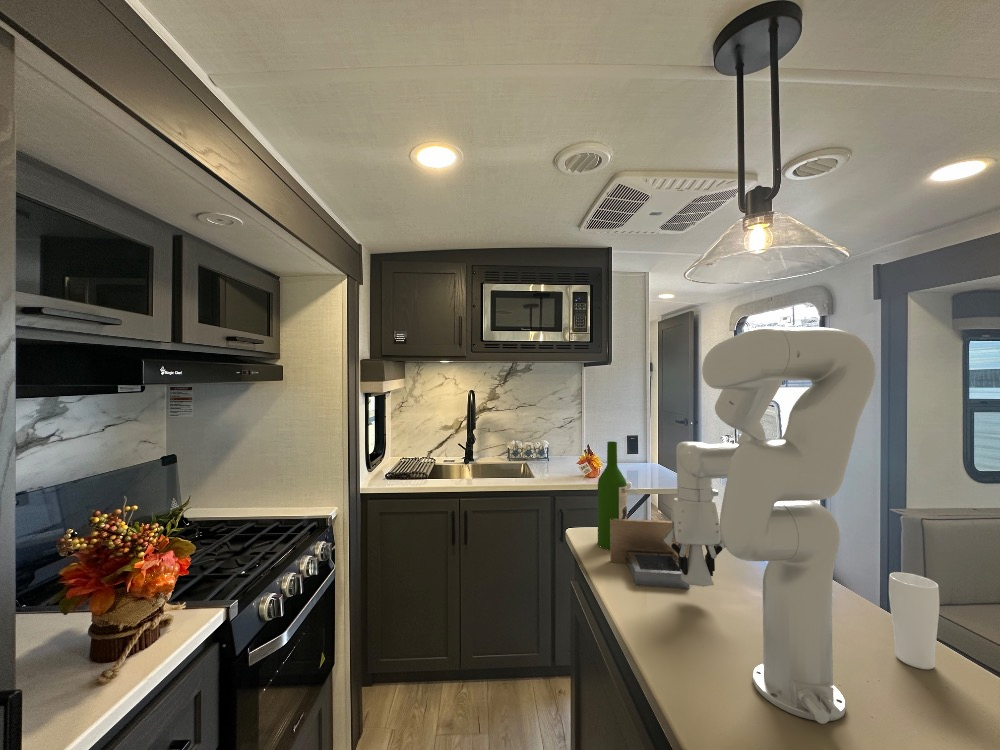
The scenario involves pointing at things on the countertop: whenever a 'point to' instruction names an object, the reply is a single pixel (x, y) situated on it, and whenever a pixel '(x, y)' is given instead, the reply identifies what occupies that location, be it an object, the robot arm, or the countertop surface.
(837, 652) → the countertop surface
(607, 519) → the wine bottle
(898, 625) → the drinking glass
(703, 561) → the flask
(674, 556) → the cup bracket
